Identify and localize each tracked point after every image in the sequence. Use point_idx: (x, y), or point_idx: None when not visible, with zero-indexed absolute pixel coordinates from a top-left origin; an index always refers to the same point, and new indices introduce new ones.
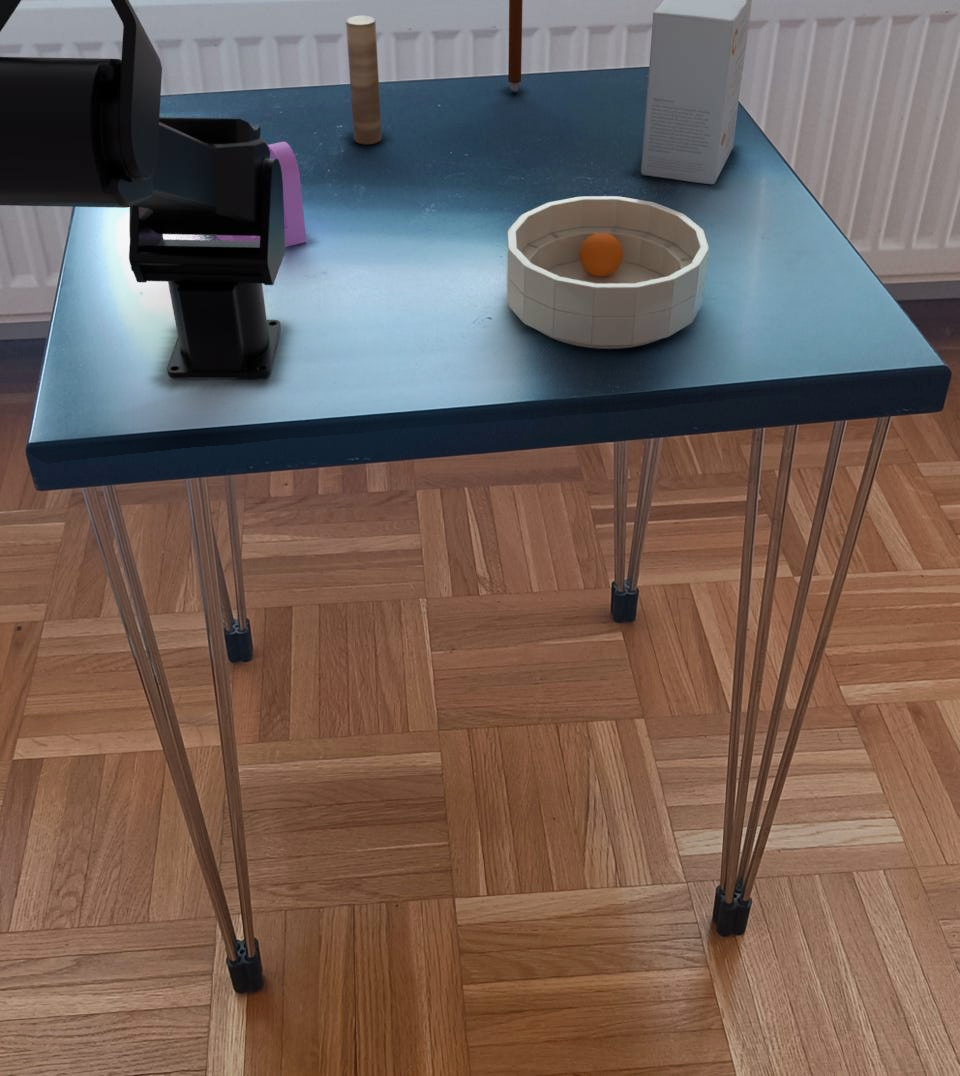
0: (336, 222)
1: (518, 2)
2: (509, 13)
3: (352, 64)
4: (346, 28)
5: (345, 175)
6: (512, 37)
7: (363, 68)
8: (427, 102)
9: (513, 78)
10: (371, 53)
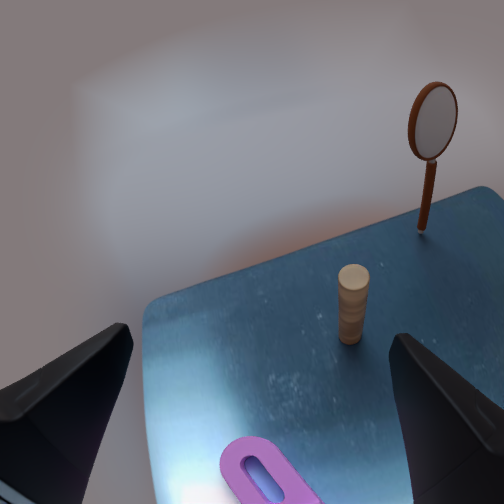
0: (364, 489)
1: (433, 184)
2: (425, 191)
3: (345, 310)
4: (339, 287)
5: (351, 405)
6: (426, 205)
7: (357, 312)
8: (371, 261)
9: (423, 228)
10: (365, 300)
